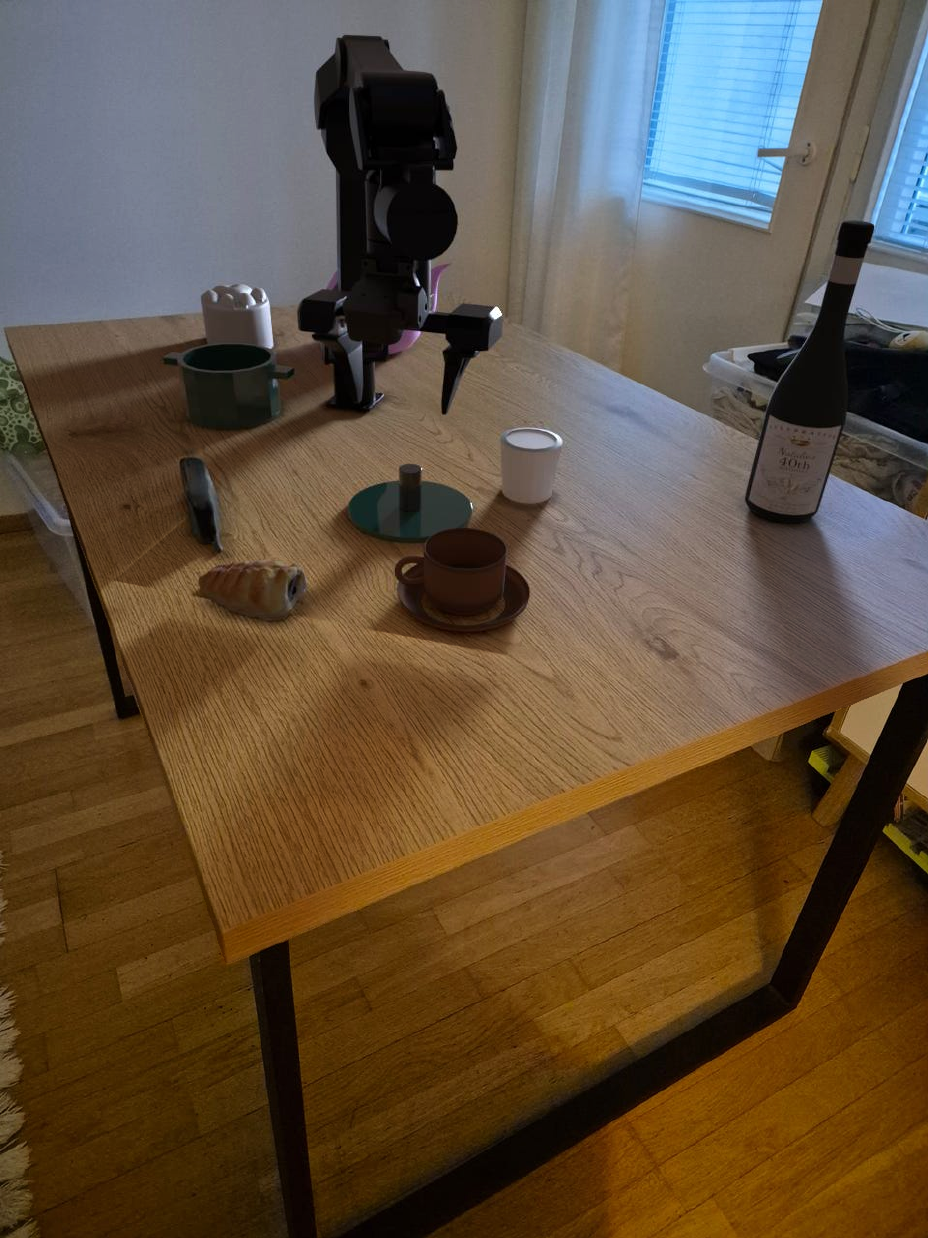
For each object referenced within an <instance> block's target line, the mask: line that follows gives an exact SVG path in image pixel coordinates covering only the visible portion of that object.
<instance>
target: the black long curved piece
mask: <svg viewBox="0 0 928 1238" xmlns="http://www.w3.org/2000/svg"><path fill="white" fill-rule="evenodd" d="M179 470H180V476H181V480H182V489H183V494H184V496H185V500H186V505H187V512H188V513H187V514H188V519H189V523H190V530H191V532H192V535H193V537H194V538H195V539H196V540H197V541H198V542H199V543H200V544H210V545H212V546H213V547H214V551H215V552H216V553H219V554H220V553H222V552H223V547H222V544H221V542H220V535H221V534H220V533H221V531H220V519H221V517H220V508H219V501H218V497H217V496H218V495H217V493H216V490H215V489H216V488H215V486H214V482H213V481H212V479H211V476H210V473H209V470H208V468H207V466H206V463H205V461H204V460H203V459H202V458H199V457H196V456H187V457H182V458H180V460H179Z"/></svg>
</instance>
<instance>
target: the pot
mask: <svg viewBox="0 0 928 1238" xmlns="http://www.w3.org/2000/svg"><path fill="white" fill-rule="evenodd" d="M162 362H163V365H167V366H173V367H177V369H178V377H179V382H180V388H181V395H182V401H183V407H184V408H183V409H184V414H186V419H188V421H190V422H191V423H192V424H194V425H196V426H199V427H203V428H207V429H214V430H241V429H242V430H243V429H249V428H255V427H258V426H262V425H265V424H268V423H271V422H272V421H274V420H275V419H277V418H278V417H279V416H280V414H281V412H282V411H281V410H282V409H281V408H282V407H281V406H282V403H281V402H282V401H281V393H280V381H289V380H290V379H291V378H293V377H294V376H295V375H296V372H295V371H296V370H295V367H294V366H285V365H278V360H277V353H276V352H274V351H273V350H272V348H271V349H269V348H266V347H263V346H260V345H257V344H248V343H216V344H207V343H206V344H203V345H199V346H196V347H191V348H189V349H187V350H184V351H183V352H175V351H171V352H169V353H168V354H165V355H164V356H162ZM279 380H280V381H279Z"/></svg>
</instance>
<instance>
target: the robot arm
mask: <svg viewBox="0 0 928 1238" xmlns="http://www.w3.org/2000/svg"><path fill="white" fill-rule="evenodd" d="M335 39H336V40H335V48H334V53H333V54H332V55H331V56H330V57H329V58H328V59H326V60H325V62H324V63H323V64H322V65H321V66H320V67H319V68H318V69H317V70H316V72H315V81H314V92H313V94H314V95H313V109H314V122H315V128H316V130H318V131H320V136H321V139H322V143H323V146H324V149H325V153H326V155H327V157H328V158H329V160H330V162H331V164H332V166H333V167H334V169H335V208H336V209H335V211H336V212H335V213H336V215H335V216H336V218H335V219H336V268H337V269H336V271H337V283H336V285H335V286H334V288H333V289H332V290H327V289H326V288H322V289H320V290H317V291H316V292H314V293H312V294H310V295H308V296H306V297H304V298H303V299H302V300H300V302H299V304H298V308H297V310H296V316H297V329H298V330H299V331H301V332H306V333H312V334H311V338H312V340H313V341H315V342H318V343H319V346H320V347H319V348H320V356H321V358H322V361H323V364H324V366H329V365H332V376H333V393H334V394H333V395H332V396H331V397H330V398H329V399H328V400H327V401H325V406H326V407H328V408H335V409H342V410H349V411H357V412H364V413H368V412H371V411H372V410H373V409H374V408H375V407H376V406H377V405H378V404H379V403H380V402H381V401H382V400H383V399H384V398H385V394H384V393H383V392H376V365H375V363H379V362H380V363H381V362H382V363H387V359H389V358H390V355H389V345H393V344H395V343H397V342H399V340H400V339H401V337H402V333H403V331H404V330H412V331H421V333H430V334H439V335H445V340H446V341H447V343H448V344H449V345H447V347H446V348H444V349H443V350H442V351H441V353H442V357H443V362H444V367H443V378H442V389H441V397H440V406H441V415H443V416H446V415H447V414H448V413H449V411H450V409H451V406H452V404H453V402H454V399H455V395H456V394H457V391H458V388H459V386H460V383H461V381H462V378H463V376H464V373H465V370H466V369H467V366H468V365H469V363H470V361H471V359H476V357H477V356H478V355H479V354H480V353H482V352H489V350H491V348H492V347H494V345H495V344H496V343H497V342H498V341H499V340H500V339H501V338H502V337H503V323H504V322H503V320H504V318H503V315H502V313H501V311H500V309H499V308H498V307H497V306H495V305H494V306H493V305H486V304H485V305H484V304H483V305H482V304H474V303H464V302H462V303H461V304H459V305H458V306H457V307H456V308H454V309H453V310H452V311H451V312H444V311H436V310H435V311H430V307H431V306H433V305H434V294H430V283H431V269H432V268H431V267H432V266H431V265H432V263H431V262H432V261H433V260H435V259H436V258H439V257H440V256H442V255H443V254H444V253H445V252H446V251H447V250H448V249H449V248H450V247H451V245H452V244H453V243H454V241H455V238H456V235H457V232H458V225H459V216H458V213H457V209H456V206H455V203H454V201H453V199H452V198H451V197H452V196H450V195H449V193H448V192H447V191H446V190H445V189H444V188H442V187H441V186H439V185H438V184H437V181H436V180H437V179H436V175H437V174H436V173H437V172H438V171H439V172H441V171H442V172H443V171H444V172H450V171H451V172H452V171H454V167H455V166H454V165H455V163H454V160H455V159H456V157H457V151H458V144H457V138H456V133H455V129H454V123H453V118H452V113H451V108H450V106H449V104H448V103H447V101H446V94H445V92H444V90H443V89H442V88H441V89H439V83H438V80H437V78H436V76H435V75H434V74H433V73H431V72H427V71H420V70H419V71H418V70H406V69H404V68H403V67H402V66H401V64H400V63H399V61H398V60H397V59H396V57H395V56H394V55H393V54H392V52H391V47H390V41H389V39H385V38H383V37H382V36H381V35H366V34H365V35H362V34H360V35H359V34H343V35H342V36H341V37H336V38H335ZM436 171H437V172H436Z"/></svg>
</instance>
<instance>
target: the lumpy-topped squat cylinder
mask: <svg viewBox="0 0 928 1238" xmlns="http://www.w3.org/2000/svg"><path fill="white" fill-rule="evenodd" d="M200 304H201V311H202V316H203V318H202V319H203V325H204V331H205V339H206V345H207V344H216V343H248V344H257V345H260V346H263V347H266V348H269V349H271V350H272V348H274V339H273V338H274V337H273V327H272V317H271V306H270V300H269V298H268V296H267V294H266V292H265V290H264V289H263V288H261V287H254V288H251V287H250V286H249V285H247V284H242V283H241V284H239V283H238V284H232V285H229V284H224V285H223V284H220V285H216V286H214V287H213V288H211V289H208V290H206V291H205V292H203V293H202V294H201V295H200Z"/></svg>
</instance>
